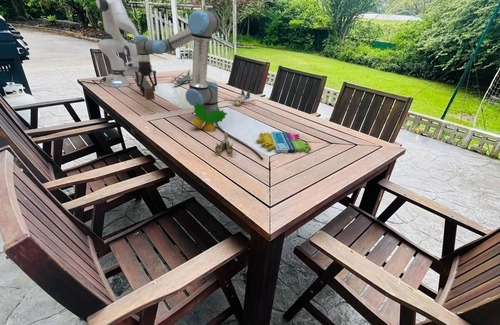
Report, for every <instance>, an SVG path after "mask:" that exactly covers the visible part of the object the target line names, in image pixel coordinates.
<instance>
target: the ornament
mask: <svg viewBox="0 0 500 325" xmlns="http://www.w3.org/2000/svg"><path fill="white" fill-rule="evenodd" d="M219 110H220V108H219V109H217V110H216V111H214V110H212V112H211V113H208V112H206V109H204V106H201V104H198V103H197V102H196V106H193V112H194V113H195V118H192V119H191V122H192V123H193V125H195V127H197V128H198V129H202V130H203V131H206V132H212V131H213V132H214V131H215V130H216V126H215V124H216V123H217V124H218V123H219V122H223V119H226V115H227V114H228V113H227V112H224V110H223V109H221V110H220V111H219ZM207 113H208V115H207ZM214 123H215V124H214Z"/></svg>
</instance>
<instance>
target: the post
mask: <svg viewBox="0 0 500 325" xmlns="http://www.w3.org/2000/svg"><path fill="white" fill-rule="evenodd" d="M134 78H135V79H136V76H135V77H134ZM138 78H139V84H140V81H141V76H138ZM135 84H136V85H137V82H135ZM142 86H143V89H144V96H145V97H144V99H145V100H146V101H154V100H156V99H155V91H154V89H153V87H152V84H151V82H149V81H148V80H147V78H145V76H144V78H143V84H142ZM137 87H138V89H139V90H140V87H139V86H137ZM141 94H142V95H143V93H142V92H141Z"/></svg>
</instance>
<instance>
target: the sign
mask: <svg viewBox="0 0 500 325" xmlns="http://www.w3.org/2000/svg"><path fill="white" fill-rule="evenodd" d="M299 136H300V135H299V134H298V133H296V134H294V133H291V132H287V131H270V132H264V133H263V132H260V133H259V139H258V138H257V139H256V143H257V144H261V148H263V147H264V148H265V149H267V151H268V152H271V151H272V150H273V149H275V152H276V153H283V154H285V153H287V154H288V153H290V154H293V153H296V152H298V153H301V152H305V153H310V151H311V150H312V149H311V148H312V146H309V142H304V141H303V139H302V138H299Z"/></svg>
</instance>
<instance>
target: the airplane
mask: <svg viewBox="0 0 500 325" xmlns="http://www.w3.org/2000/svg"><path fill="white" fill-rule="evenodd" d="M190 71H191V69H188V71H187V73H186V75H181V76H182V77H179V76H172V78H173V81H176V80H177V79H178V80H177V81H176V83H175V84H174V86H173V88H177V87H179V86H181V85H183V84H185V85H186V84H188V83H190V82H191V81H192V75H190Z"/></svg>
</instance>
